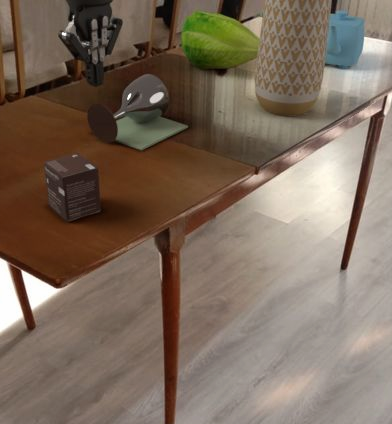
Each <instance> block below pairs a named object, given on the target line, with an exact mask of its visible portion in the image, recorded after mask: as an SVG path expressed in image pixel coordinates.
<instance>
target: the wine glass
mask: <svg viewBox="0 0 392 424" xmlns="http://www.w3.org/2000/svg"><path fill="white" fill-rule="evenodd" d="M120 98H121V99H120V108H119V109H118V110H117V111H115V113H112V111H111V110H110V109H109V108H108V107H107V106H106V105H104V104H102V103H92V104H91V105H90V106H89V107H88V110H87V113H86V114H87V116H86V118H87V122H88V126H89V128H90V131H91V132H92V134H93V135H94V136H95V138H97V139H98V140H100V141H101V142H103V143H106V144H111V143H113V142H115V141H114V140H115V139H116V137H117V134H118V126H117V122H116V121H117V120H118V119H120V118H123V117H128V118H129V119H131V120H133V121H135V122H147V121H150V120H153V119H156V118H157V117H162V115H164V114H165V113H166V112H167V111H168V109H169V105H170V96H169V92H168V89H167V87H166V85H165V84H164V83H163V81H162V80H161V79H160V78H159V77H158V76H156V75H155V74H151V73H147V74H146V73H145V74H143V75H141V76H139V77H137V78H136V79H134V80H133V81H132V82H130V83H129V84H128V85H127V86H126V87H125V89H124V90H123V92H122V95H121V97H120Z"/></svg>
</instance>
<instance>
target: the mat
mask: <svg viewBox="0 0 392 424" xmlns="http://www.w3.org/2000/svg"><path fill="white" fill-rule="evenodd" d="M116 122H117V126H118V134H117V137H116V139H115V140H114V141H113V142H116V143H119V144H122V145H125V146H128V147H130V148H133V149H136V150H138V151H144V150H146V149H148V148H150V147H152V146H153V145H155V144H158V143H159V142H161V141H164V140H166V139H168V138H170V137H172V136H174V135H176V134H178V133H180V132H182V131H184V130H186V129H188V128H189V125H188V124H183V123H181V122H178V121H175V120H172V119H168V118H165V117H162V116H159V117H157V118H156V119H153V120H150V121H147V122H135V121H133V120H131V119H129V118H128V117H126V116H123V117H121V118H119V119H116Z"/></svg>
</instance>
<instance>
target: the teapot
mask: <svg viewBox="0 0 392 424" xmlns="http://www.w3.org/2000/svg"><path fill="white" fill-rule="evenodd" d="M364 44H365V20H364V18H363V17H359V16H353V15H349V11H346V10H342V9H341V10H337V11H336V13H330V21H329V30H328V39H327V48H326V57H325V65H326V64H329V65H334V66H337V67H338V68H339V69H347V68H348V67H353V66H355V65H356V64H357V62H358V61H359V60H360V57H361V56H362V53H363V50H364Z"/></svg>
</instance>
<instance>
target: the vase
mask: <svg viewBox="0 0 392 424" xmlns="http://www.w3.org/2000/svg"><path fill="white" fill-rule="evenodd" d="M332 2H333V0H264V5H263V12H262V20H261V27H260V33H259V38H260V40H259V47H258V54H257V58H256V62H255V71H254V92H255V98H256V100H257V102H258V104H259V105H260V107H261V108H262V109H263V110H264V111H265V112H268V113H270V114H273V115H277V116H284V117H294V116H295V117H296V116H301V115H303V114H305V113H307V112H309V111H310V110H311V108H313V106H314V105H315V103H316V102H317V101H318V98H319V96H320V92H321V89H322V86H323V85H322V84H323V79H324V73H325V65H326V64H325V57H326V48H327V39H328V30H329V21H330V14H331V11H332Z"/></svg>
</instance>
